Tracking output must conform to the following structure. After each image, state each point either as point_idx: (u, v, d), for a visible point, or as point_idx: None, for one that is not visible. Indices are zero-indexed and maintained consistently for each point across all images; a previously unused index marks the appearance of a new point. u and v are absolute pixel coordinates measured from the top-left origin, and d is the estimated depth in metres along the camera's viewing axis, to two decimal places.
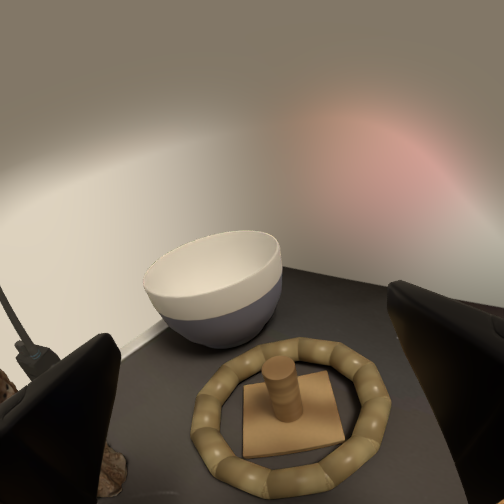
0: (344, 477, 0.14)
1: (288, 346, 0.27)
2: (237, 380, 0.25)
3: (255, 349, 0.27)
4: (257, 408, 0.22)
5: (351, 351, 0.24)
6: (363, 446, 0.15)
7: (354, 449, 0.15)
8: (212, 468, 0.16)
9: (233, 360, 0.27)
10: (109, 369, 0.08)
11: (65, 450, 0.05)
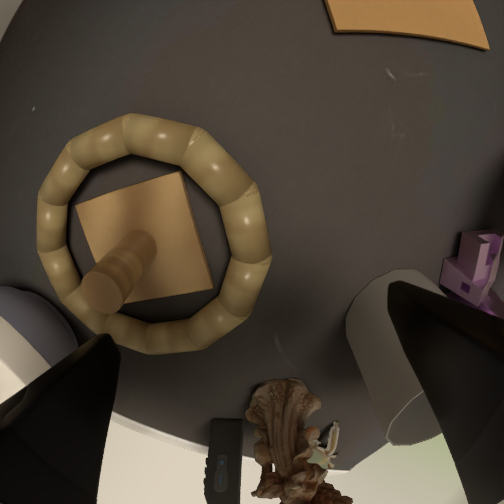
0: (242, 171, 0.15)
1: (52, 264, 0.17)
2: (112, 314, 0.19)
3: (67, 304, 0.18)
4: (143, 284, 0.19)
5: (50, 177, 0.14)
6: (200, 150, 0.14)
7: (205, 162, 0.14)
8: (243, 319, 0.18)
9: (90, 327, 0.19)
10: (109, 369, 0.08)
11: (65, 449, 0.05)
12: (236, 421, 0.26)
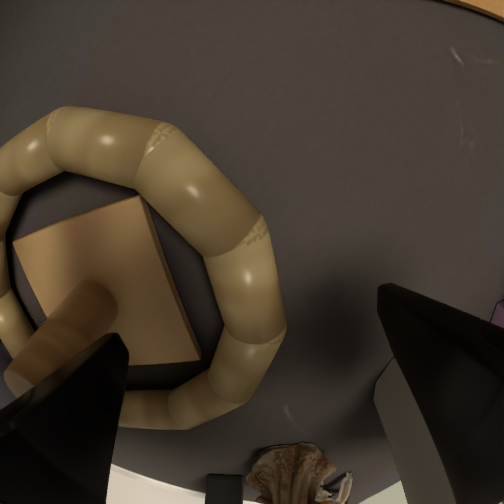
0: (241, 198, 0.09)
1: None
2: None
3: None
4: None
5: None
6: (165, 164, 0.08)
7: (173, 185, 0.08)
8: (244, 403, 0.12)
9: None
10: (118, 369, 0.08)
11: (74, 452, 0.05)
12: (235, 478, 0.20)
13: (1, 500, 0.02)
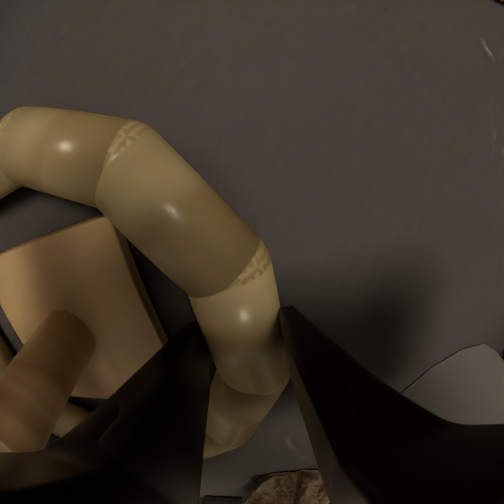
0: (235, 220, 0.07)
1: None
2: None
3: None
4: (88, 381, 0.11)
5: None
6: (131, 177, 0.06)
7: (143, 206, 0.06)
8: (241, 445, 0.10)
9: None
10: (204, 363, 0.07)
11: (169, 466, 0.05)
12: (234, 500, 0.17)
13: None
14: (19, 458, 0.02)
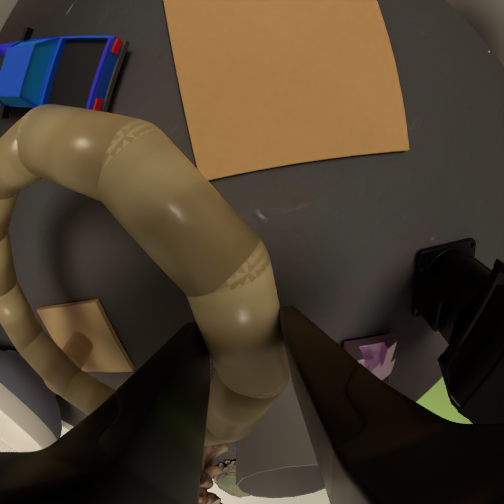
0: (229, 223, 0.07)
1: None
2: (75, 379, 0.13)
3: (24, 358, 0.12)
4: (89, 363, 0.24)
5: None
6: (126, 178, 0.06)
7: (136, 205, 0.06)
8: (237, 440, 0.10)
9: (52, 387, 0.13)
10: (203, 363, 0.07)
11: (169, 466, 0.05)
12: None
13: None
14: (19, 458, 0.02)
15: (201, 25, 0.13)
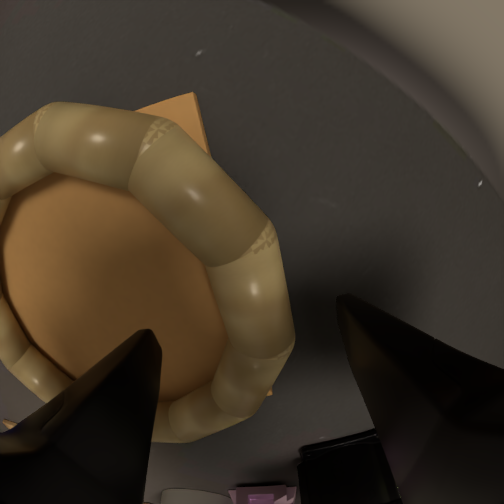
0: (247, 201, 0.08)
1: None
2: None
3: (14, 375, 0.11)
4: None
5: None
6: (163, 163, 0.07)
7: (172, 187, 0.07)
8: (248, 417, 0.11)
9: None
10: (153, 367, 0.08)
11: (111, 460, 0.05)
12: None
13: None
14: None
15: (4, 265, 0.11)
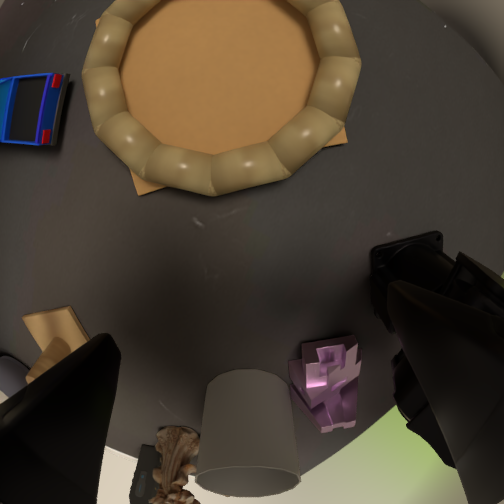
0: None
1: (100, 79, 0.13)
2: (164, 144, 0.15)
3: (107, 129, 0.14)
4: None
5: None
6: None
7: None
8: (339, 126, 0.14)
9: (132, 158, 0.15)
10: (109, 369, 0.08)
11: (65, 449, 0.05)
12: None
13: None
14: None
15: (128, 48, 0.14)
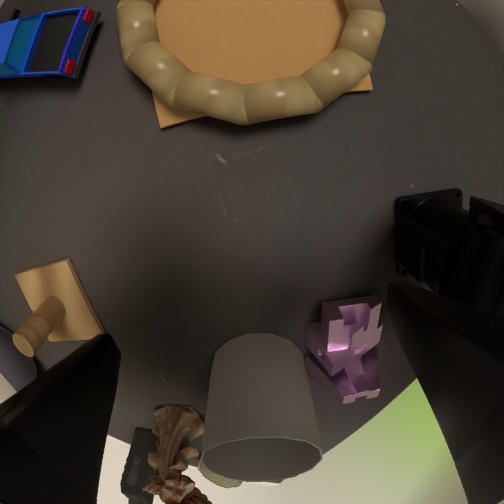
0: None
1: (137, 11, 0.11)
2: None
3: (138, 54, 0.12)
4: (63, 330, 0.23)
5: None
6: None
7: None
8: (368, 68, 0.13)
9: (162, 81, 0.13)
10: (109, 369, 0.08)
11: (65, 449, 0.05)
12: None
13: None
14: None
15: None
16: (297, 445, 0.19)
